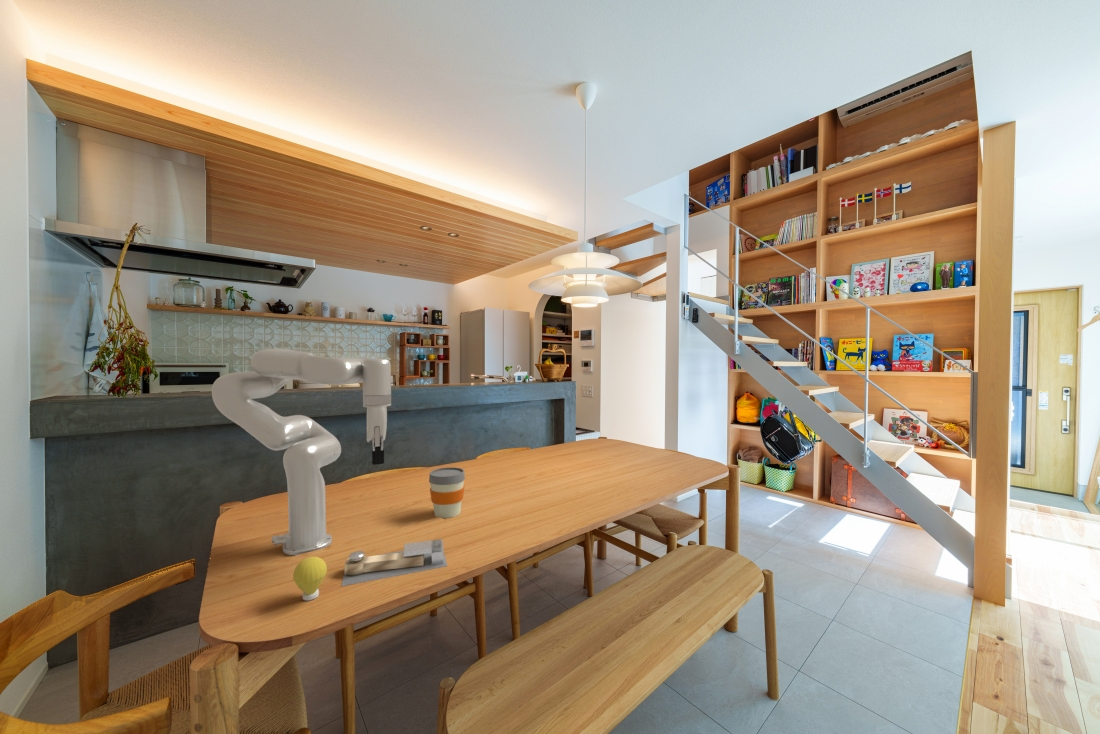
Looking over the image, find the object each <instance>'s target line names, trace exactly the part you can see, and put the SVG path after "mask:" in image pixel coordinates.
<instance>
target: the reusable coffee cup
mask: <svg viewBox="0 0 1100 734" xmlns="http://www.w3.org/2000/svg"><path fill="white" fill-rule="evenodd" d="M428 477H429V479H428V482H429V483H430V487H429V493H430V499H431V503H432V505H433V511H434V516H435V517H436V518H441V519H449V518H450V519H451V518H454V517H457V516H458V515H460V514H461V510H462V509H461V508H462V500H463V499H464V494H465V493H464V491H465V480H466V475H465V470H464V468H461V467H454V466H452V467H451V466H450V467H440V468H436V469H434V470H431V471H430V472H429V476H428Z"/></svg>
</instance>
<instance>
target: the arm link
mask: <svg viewBox="0 0 1100 734" xmlns="http://www.w3.org/2000/svg"><path fill="white" fill-rule="evenodd" d="M383 554H384V555H380V554H376V555H375V556H374V555H369V556H368V555H367V556H366V555H364V557H362V560H361V561H358V562H352V561H351V560H350V559H349V557H348V558H347V559H346V560H345V564H344V572H345V575H358V574H361V573H364V572H372V571H381V570H389V569H397V568H406V567H414V566H423V565H424V554H421V555H414V556H406V557H404V552H402V553H393V554H386V553H383Z"/></svg>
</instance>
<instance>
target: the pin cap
mask: <svg viewBox="0 0 1100 734" xmlns="http://www.w3.org/2000/svg"><path fill="white" fill-rule="evenodd" d="M364 556H365V551H361V550H359V551H357V550H356V551H353V552H352V553H350V554H349V555H348V558H349V559H350V560H351V561H352V562H358V561H361V560H362V557H364Z"/></svg>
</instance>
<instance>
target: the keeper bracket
mask: <svg viewBox="0 0 1100 734" xmlns="http://www.w3.org/2000/svg"><path fill="white" fill-rule="evenodd" d="M403 545H404V547H403V551H404V557H406V556H414V555H421V554H428V553H432V565H435V564H442V563H443V551H444V539H443V538H440V539H439V538H438V539H432V540H424V541H417V542H416V541H415V542H408V543H404V544H403Z"/></svg>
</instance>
